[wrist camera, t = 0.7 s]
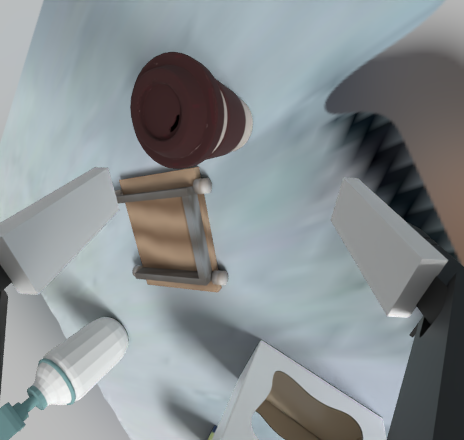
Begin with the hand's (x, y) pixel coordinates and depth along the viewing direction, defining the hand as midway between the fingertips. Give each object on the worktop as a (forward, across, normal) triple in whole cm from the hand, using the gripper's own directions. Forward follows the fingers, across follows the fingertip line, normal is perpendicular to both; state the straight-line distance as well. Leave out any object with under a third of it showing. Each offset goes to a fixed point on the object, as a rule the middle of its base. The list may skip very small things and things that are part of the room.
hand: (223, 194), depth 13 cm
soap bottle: (+23, -31, -53) cm, 66 cm away
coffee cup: (+23, -1, 0) cm, 23 cm away
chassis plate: (+23, -12, -19) cm, 32 cm away
